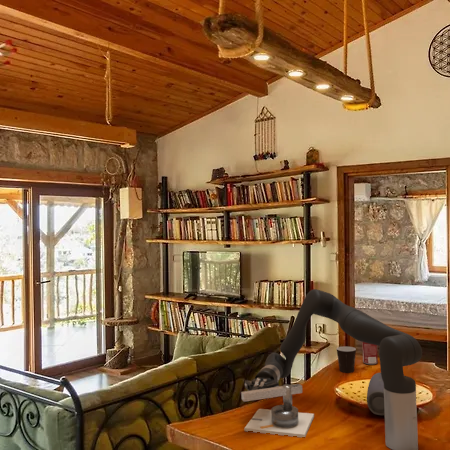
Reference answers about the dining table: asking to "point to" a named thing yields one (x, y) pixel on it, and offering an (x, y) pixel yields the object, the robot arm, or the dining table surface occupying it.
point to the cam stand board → (264, 425)
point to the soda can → (369, 353)
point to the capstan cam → (281, 413)
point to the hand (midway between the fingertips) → (254, 393)
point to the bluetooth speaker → (376, 395)
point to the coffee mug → (346, 359)
